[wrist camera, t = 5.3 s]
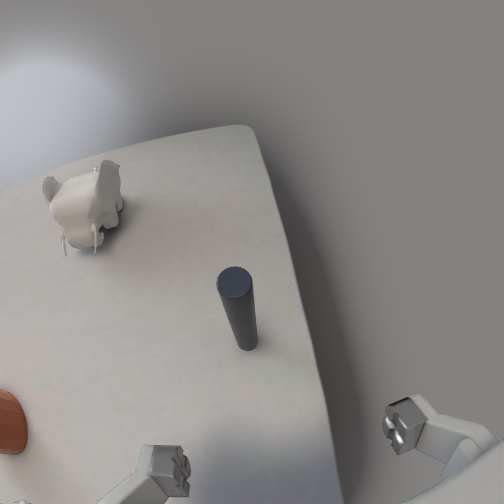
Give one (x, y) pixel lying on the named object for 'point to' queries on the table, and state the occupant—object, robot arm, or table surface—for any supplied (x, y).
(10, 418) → the cup
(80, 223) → the elephant figurine
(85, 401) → the table surface
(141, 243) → the table surface
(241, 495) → the table surface
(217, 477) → the table surface
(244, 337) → the rod
